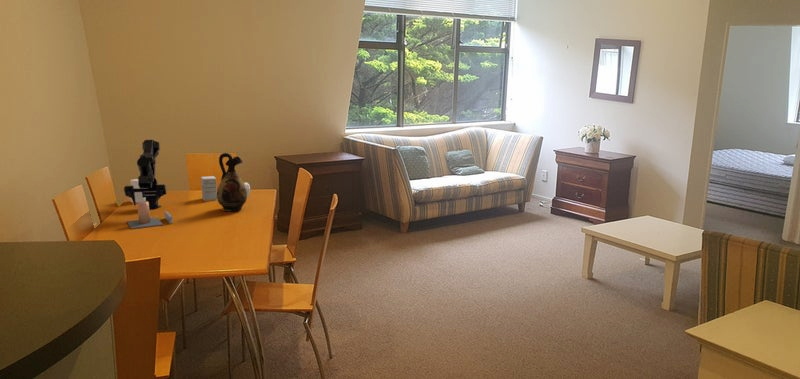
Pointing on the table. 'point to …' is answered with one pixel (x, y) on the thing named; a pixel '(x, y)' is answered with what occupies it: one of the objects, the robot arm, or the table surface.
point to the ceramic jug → (231, 185)
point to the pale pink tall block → (143, 212)
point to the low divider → (168, 217)
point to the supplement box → (209, 188)
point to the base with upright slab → (137, 194)
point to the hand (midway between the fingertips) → (145, 204)
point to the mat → (135, 224)
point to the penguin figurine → (247, 188)
